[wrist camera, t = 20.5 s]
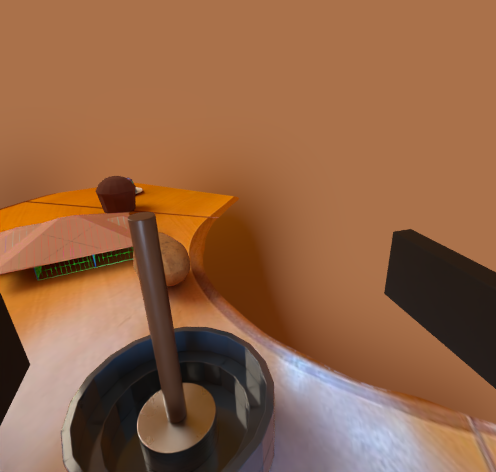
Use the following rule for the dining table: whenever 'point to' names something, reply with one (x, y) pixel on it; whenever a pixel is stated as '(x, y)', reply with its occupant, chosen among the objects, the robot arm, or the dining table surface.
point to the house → (63, 241)
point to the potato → (172, 260)
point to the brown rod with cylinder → (168, 371)
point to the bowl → (147, 384)
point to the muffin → (116, 194)
